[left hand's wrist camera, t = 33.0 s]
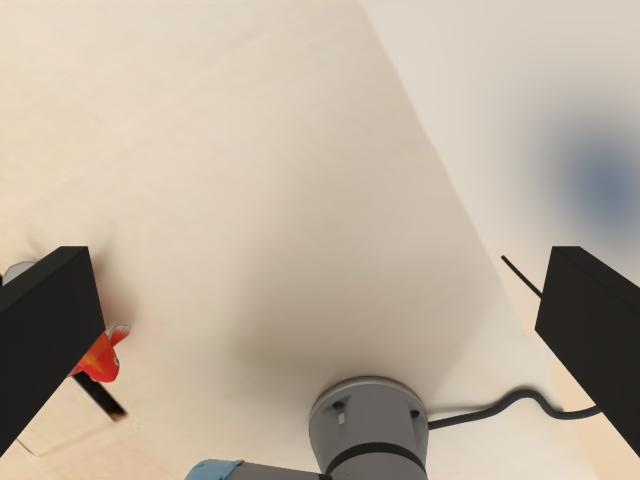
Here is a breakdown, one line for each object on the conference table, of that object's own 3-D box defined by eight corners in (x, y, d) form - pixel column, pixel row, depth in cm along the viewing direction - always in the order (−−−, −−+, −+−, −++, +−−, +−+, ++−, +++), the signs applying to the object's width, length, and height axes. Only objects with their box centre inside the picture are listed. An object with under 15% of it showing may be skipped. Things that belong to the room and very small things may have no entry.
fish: (54, 404, 50) (6, 427, 40) (12, 278, 51) (-45, 270, 42) (147, 366, 52) (123, 378, 42) (104, 245, 53) (71, 231, 44)
